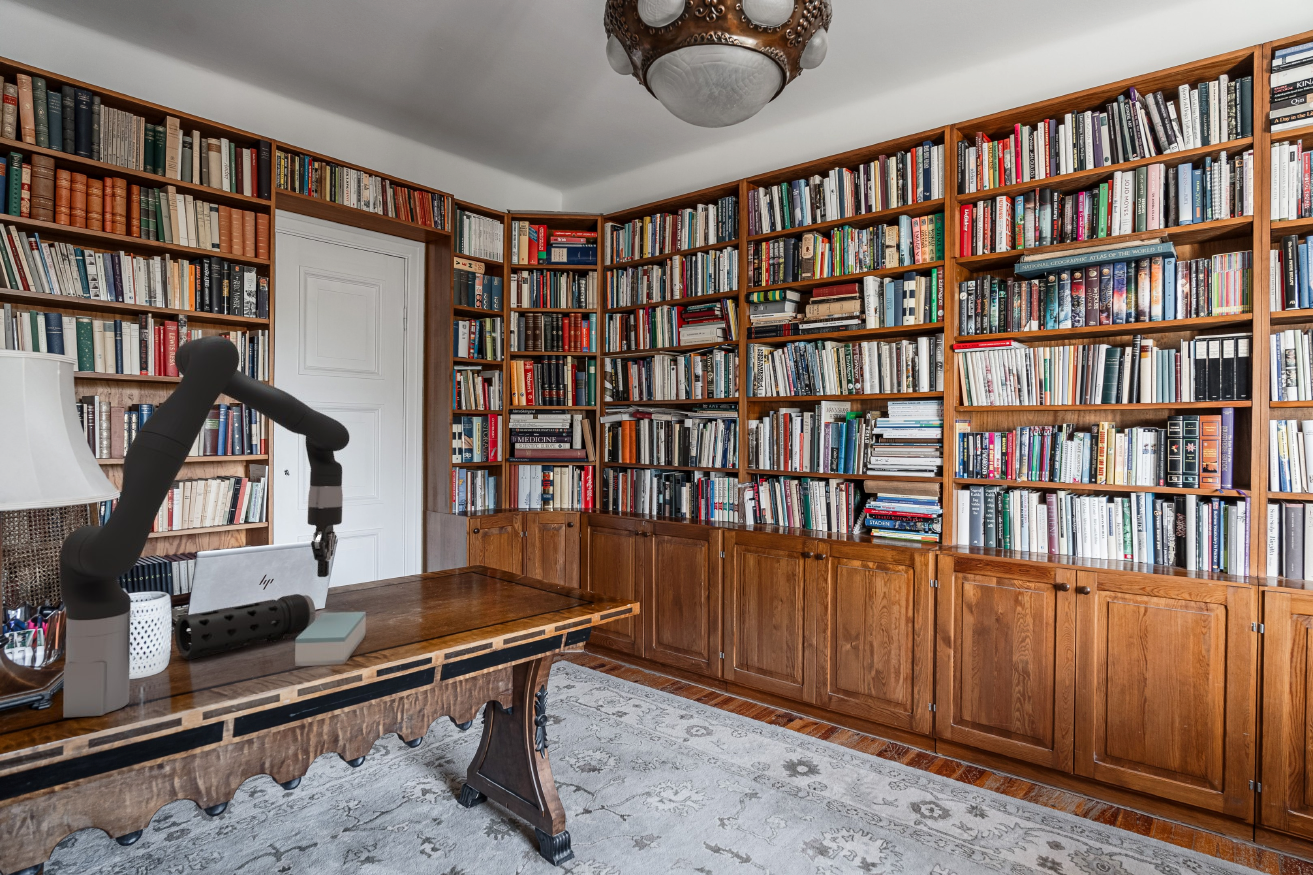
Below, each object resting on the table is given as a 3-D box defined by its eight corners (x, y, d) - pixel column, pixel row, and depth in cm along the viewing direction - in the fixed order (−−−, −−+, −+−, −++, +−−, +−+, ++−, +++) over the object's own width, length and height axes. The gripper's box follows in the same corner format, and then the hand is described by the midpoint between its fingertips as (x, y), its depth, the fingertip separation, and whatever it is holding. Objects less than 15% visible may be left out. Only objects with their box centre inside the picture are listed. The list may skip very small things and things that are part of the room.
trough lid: (344, 641, 154) (344, 637, 154) (295, 643, 153) (295, 638, 152) (365, 615, 176) (365, 611, 176) (323, 616, 174) (323, 612, 174)
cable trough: (344, 664, 154) (344, 641, 154) (295, 666, 153) (295, 643, 153) (365, 635, 176) (365, 615, 176) (322, 637, 174) (323, 616, 174)
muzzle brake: (173, 657, 158) (174, 611, 157) (297, 629, 180) (297, 589, 180) (192, 665, 152) (192, 618, 152) (317, 636, 175) (317, 595, 175)
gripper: (316, 502, 175) (314, 571, 175) (300, 506, 162) (297, 581, 162) (348, 502, 176) (346, 571, 176) (334, 507, 163) (332, 581, 163)
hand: (323, 576), depth 169 cm, fingers closed
